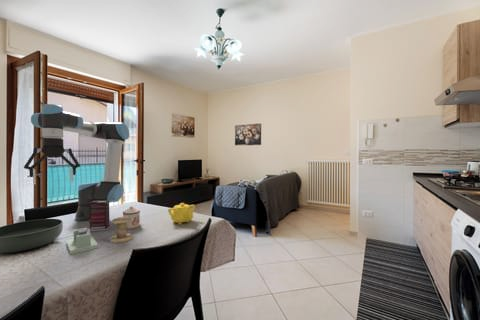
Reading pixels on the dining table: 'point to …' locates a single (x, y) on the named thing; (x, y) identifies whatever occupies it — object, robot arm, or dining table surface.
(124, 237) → the bobbin
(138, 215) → the teacup with lid
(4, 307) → the dining table surface
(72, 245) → the notch board
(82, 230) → the lead tab
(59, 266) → the dining table surface
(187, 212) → the teapot
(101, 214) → the supplement box
